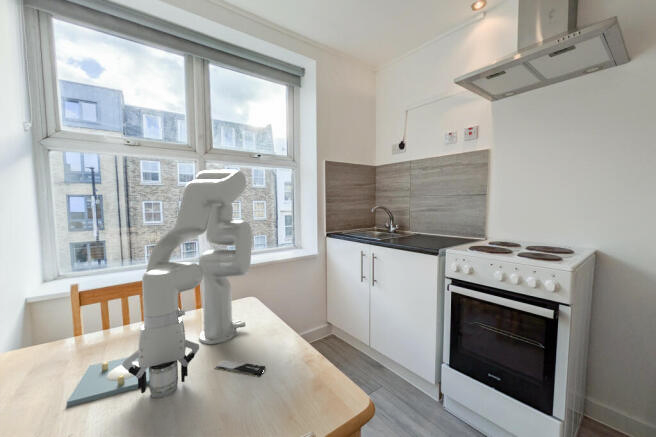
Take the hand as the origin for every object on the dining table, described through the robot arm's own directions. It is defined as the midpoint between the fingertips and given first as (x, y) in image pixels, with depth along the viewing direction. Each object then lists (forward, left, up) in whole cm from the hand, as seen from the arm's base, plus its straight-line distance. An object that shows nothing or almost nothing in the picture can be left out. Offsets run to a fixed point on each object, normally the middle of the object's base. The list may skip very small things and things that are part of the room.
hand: (164, 383), depth 68 cm
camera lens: (0, 0, -2) cm, 2 cm away
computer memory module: (-19, 0, -2) cm, 19 cm away
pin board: (+10, -12, -2) cm, 16 cm away
